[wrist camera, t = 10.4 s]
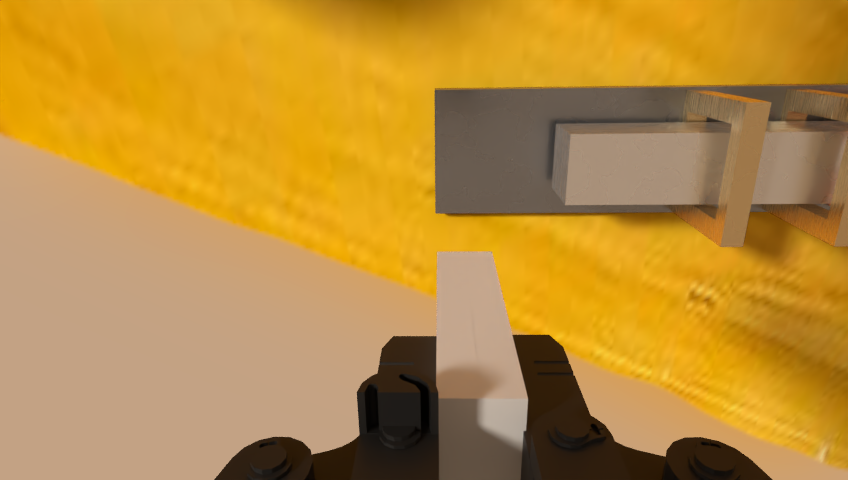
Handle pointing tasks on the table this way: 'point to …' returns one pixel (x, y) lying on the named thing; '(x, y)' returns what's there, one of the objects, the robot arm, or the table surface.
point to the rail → (547, 106)
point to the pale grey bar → (692, 162)
